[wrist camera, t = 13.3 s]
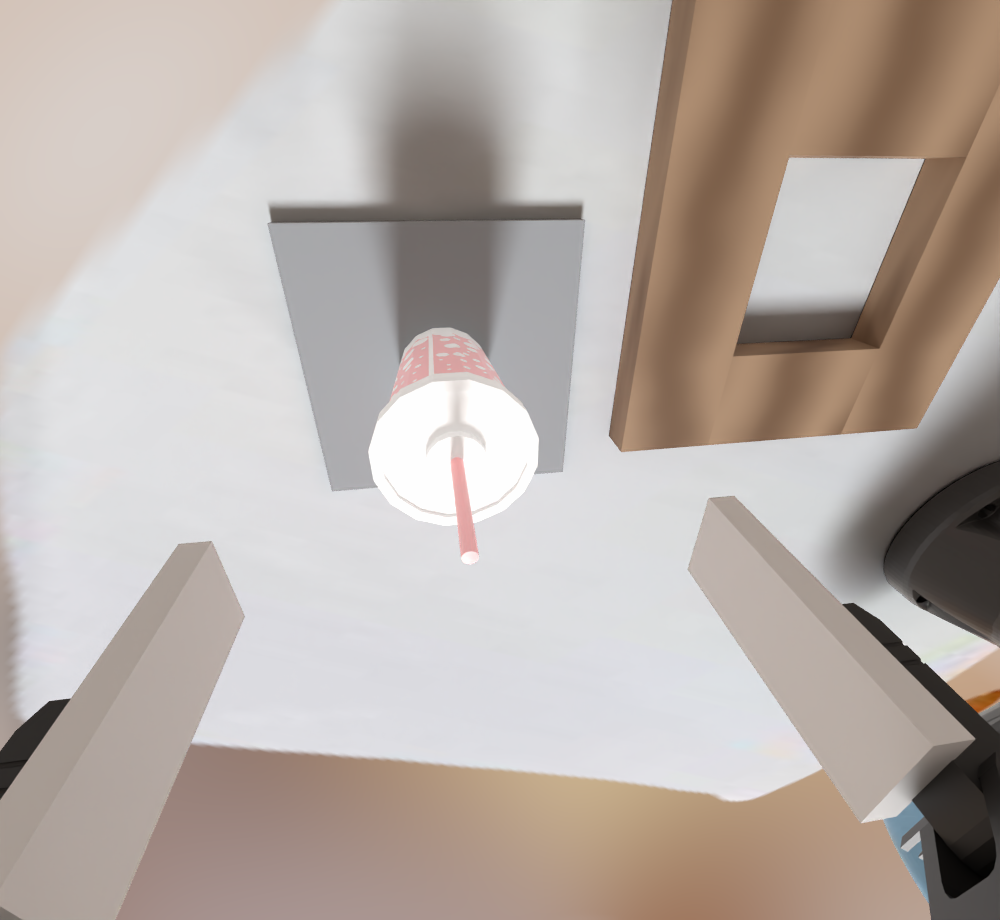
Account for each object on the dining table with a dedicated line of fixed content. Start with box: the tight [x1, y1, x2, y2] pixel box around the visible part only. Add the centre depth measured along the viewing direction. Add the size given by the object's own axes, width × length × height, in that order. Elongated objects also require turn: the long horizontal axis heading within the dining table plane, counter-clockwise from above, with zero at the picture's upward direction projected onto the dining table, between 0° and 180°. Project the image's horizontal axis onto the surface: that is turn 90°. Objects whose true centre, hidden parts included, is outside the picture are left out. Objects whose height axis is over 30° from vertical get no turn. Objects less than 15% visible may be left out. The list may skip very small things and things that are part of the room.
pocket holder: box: [609, 0, 1000, 452], centre depth 23 cm, size 20×20×2 cm
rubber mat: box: [268, 219, 585, 491], centre depth 24 cm, size 14×14×1 cm
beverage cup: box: [368, 328, 539, 564], centre depth 18 cm, size 6×6×14 cm
